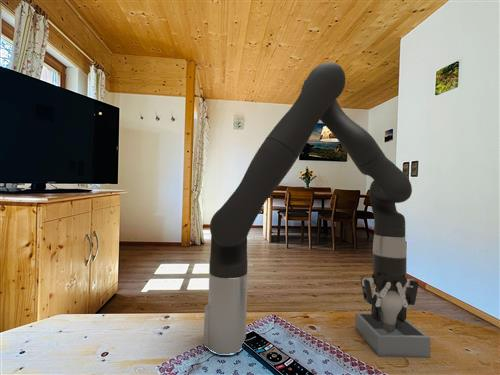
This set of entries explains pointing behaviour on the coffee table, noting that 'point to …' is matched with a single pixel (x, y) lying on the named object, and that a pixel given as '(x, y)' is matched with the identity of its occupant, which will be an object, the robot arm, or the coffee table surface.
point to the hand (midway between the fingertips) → (388, 320)
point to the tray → (392, 337)
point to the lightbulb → (390, 309)
